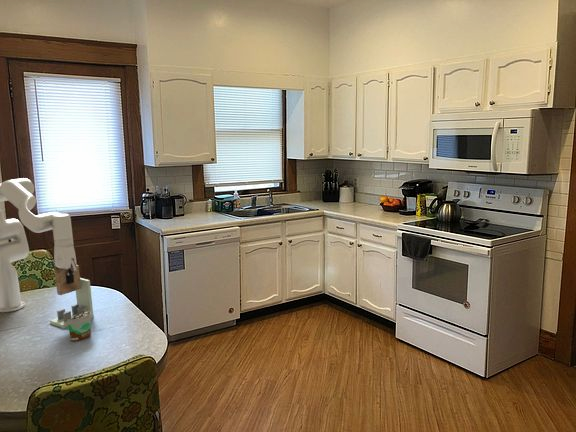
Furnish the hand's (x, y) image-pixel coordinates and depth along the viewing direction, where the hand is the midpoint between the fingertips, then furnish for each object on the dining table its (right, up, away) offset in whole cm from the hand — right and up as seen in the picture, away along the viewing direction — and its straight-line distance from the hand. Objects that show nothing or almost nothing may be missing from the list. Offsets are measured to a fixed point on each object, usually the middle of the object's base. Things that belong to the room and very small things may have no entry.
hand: (68, 282), depth 220 cm
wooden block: (0, -4, +1) cm, 4 cm away
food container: (+13, -21, -15) cm, 29 cm away
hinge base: (0, -18, +3) cm, 18 cm away
